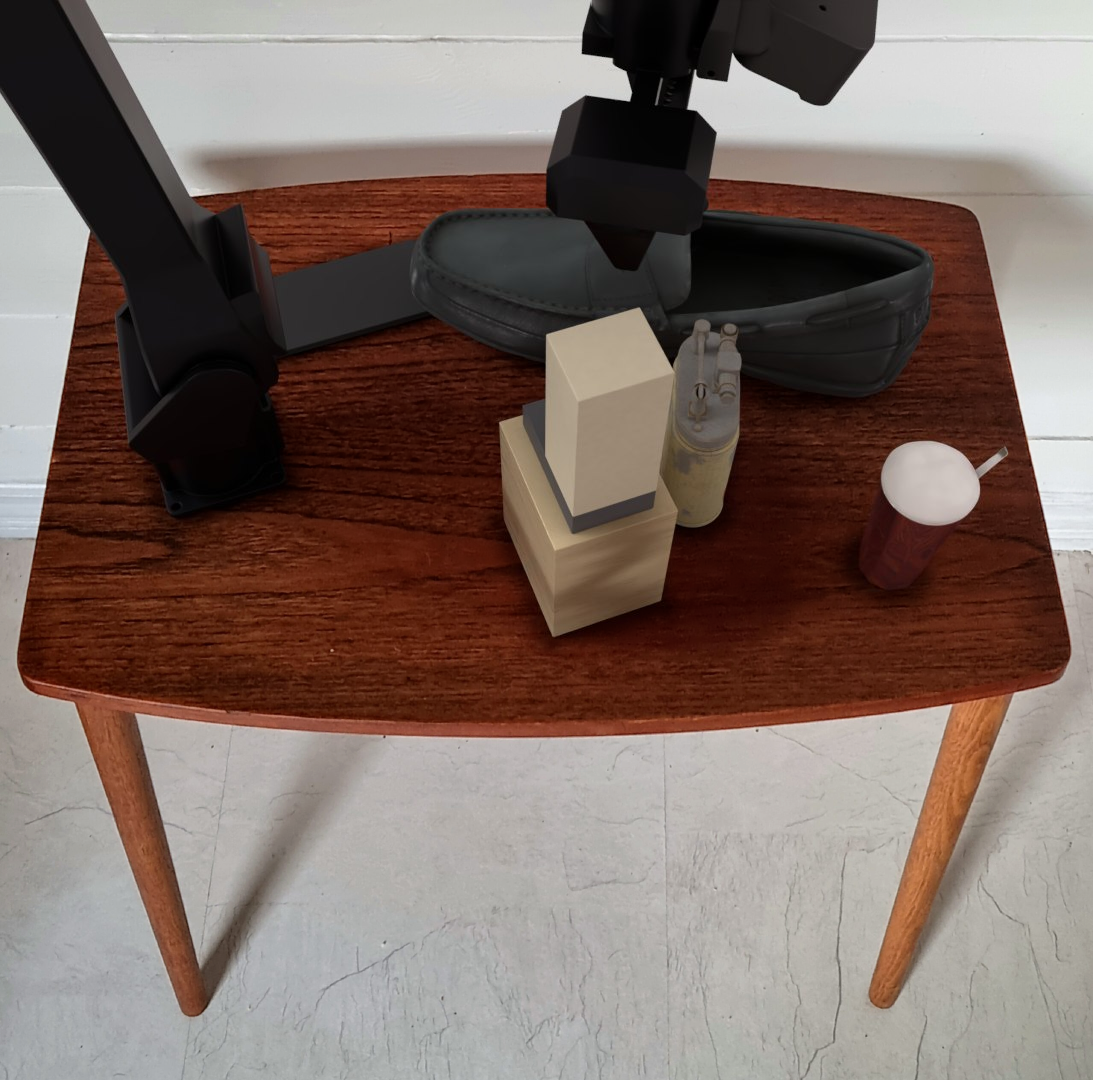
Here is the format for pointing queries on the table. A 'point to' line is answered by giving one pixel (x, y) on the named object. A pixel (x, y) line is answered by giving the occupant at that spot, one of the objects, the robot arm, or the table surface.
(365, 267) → the shoe mat
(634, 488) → the white block
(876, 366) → the loafer
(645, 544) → the stand
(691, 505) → the lighter
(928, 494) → the milkshake
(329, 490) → the table surface
